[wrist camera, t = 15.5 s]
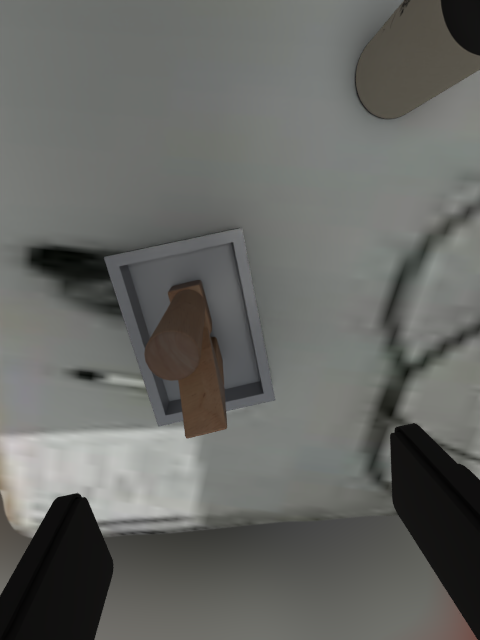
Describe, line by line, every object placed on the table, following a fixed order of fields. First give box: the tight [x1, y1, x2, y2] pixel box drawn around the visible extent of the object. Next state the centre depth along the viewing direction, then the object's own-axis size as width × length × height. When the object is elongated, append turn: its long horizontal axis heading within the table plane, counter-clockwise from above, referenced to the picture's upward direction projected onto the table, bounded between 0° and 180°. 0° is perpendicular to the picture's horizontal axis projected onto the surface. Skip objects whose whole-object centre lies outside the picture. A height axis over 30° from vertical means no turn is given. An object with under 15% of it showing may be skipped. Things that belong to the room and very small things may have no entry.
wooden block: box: [144, 280, 227, 438], centre depth 30 cm, size 4×11×18 cm, turn 13°
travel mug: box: [356, 0, 480, 119], centre depth 25 cm, size 8×8×18 cm
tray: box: [104, 228, 275, 426], centre depth 37 cm, size 20×14×4 cm
